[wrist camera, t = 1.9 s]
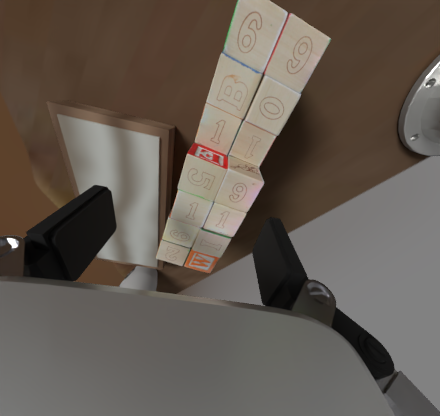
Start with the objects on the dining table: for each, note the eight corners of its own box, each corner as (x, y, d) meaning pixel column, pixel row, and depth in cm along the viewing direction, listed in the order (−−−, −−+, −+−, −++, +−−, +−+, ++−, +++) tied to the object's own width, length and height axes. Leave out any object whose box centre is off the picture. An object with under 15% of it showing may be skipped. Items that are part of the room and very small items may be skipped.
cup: (126, 256, 36) (97, 305, 28) (165, 263, 37) (147, 312, 29) (129, 278, 41) (104, 326, 32) (163, 284, 41) (147, 331, 33)
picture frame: (175, 126, 22) (168, 130, 19) (167, 257, 36) (162, 271, 33) (68, 100, 21) (43, 101, 18) (103, 247, 35) (93, 260, 32)
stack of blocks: (236, 31, 17) (250, -67, 7) (289, 62, 18) (371, 19, 8) (180, 200, 28) (153, 260, 18) (215, 212, 29) (209, 276, 19)
